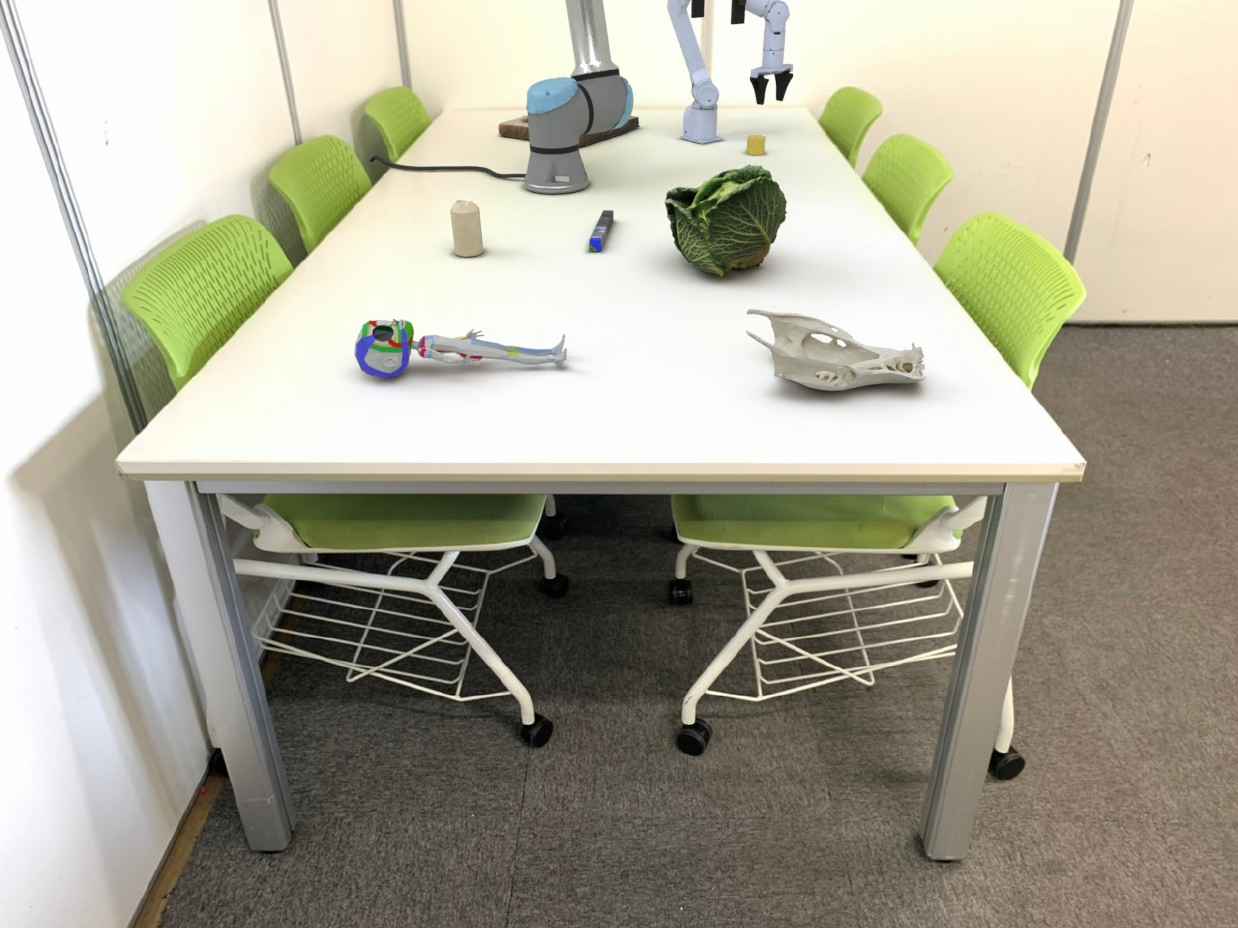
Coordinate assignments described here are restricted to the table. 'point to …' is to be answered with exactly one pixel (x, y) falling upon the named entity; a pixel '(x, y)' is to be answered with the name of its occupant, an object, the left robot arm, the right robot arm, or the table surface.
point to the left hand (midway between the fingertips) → (717, 21)
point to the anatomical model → (834, 356)
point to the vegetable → (727, 219)
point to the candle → (466, 228)
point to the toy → (435, 349)
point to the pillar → (601, 230)
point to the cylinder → (755, 145)
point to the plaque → (521, 131)
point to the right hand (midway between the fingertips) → (769, 102)
